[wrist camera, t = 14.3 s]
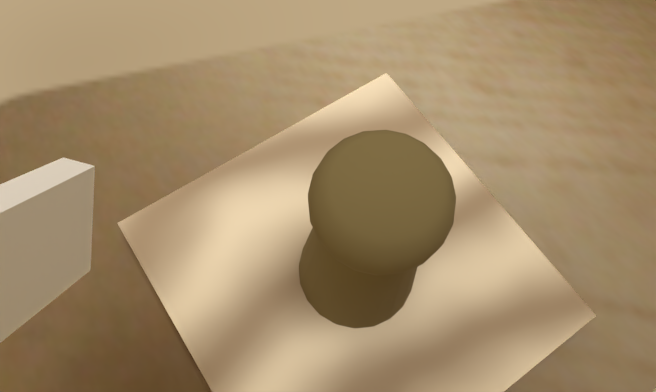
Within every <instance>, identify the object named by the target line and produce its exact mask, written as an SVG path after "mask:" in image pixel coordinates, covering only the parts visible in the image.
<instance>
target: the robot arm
mask: <svg viewBox="0 0 656 392" xmlns="http://www.w3.org/2000/svg"><path fill="white" fill-rule="evenodd" d="M94 176H95V166H92V165H89V164H85V163H82V162H78V161H74V160H71V159H67V158H61V159H59V160H56V161H54V162H52V163H49V164H47V165H45V166H42V167H40V168H38V169H35V170H33V171H31V172H28V173H26V174H24V175H21V176H19V177H17V178H14V179H12V180H10V181H7V182H5V183H3V184H0V343H1V342H2V341H3V340H4V339H6V338H7V337H8V336H9V335H11V334H12V333H13V332H14V331H16V330H17V329H18V328H19V327H20V326H22V325H23V324H24V323H25V322H27V321H28V320H29V319H30V318H32V317H33V316H34V315H35V314H37V313H38V312H39V311H40V310H42V309H43V308H44V307H45V306H47V305H48V304H49V303H50V302H52V301H53V300H54V299H55V298H57V297H58V296H59V295H60V294H62V293H63V292H64V291H65V290H66V289H68V288H69V287H70V286H71V285H73V284H74V283H75V282H76V281H78V280H79V279H80V278H81V277H83V276H84V275H85V274H86V273H88V272H89V271H90V270H91V247H92V223H93V200H94ZM653 392H656V387H655V389H654V390H653Z"/></svg>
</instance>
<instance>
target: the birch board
mask: <svg viewBox="0 0 656 392" xmlns="http://www.w3.org/2000/svg"><path fill="white" fill-rule="evenodd" d="M374 130H390V131H395V132H400V133H405V134H408V135H410V136H412V137H413V138H415V139H417V140H419V141H421V142H423V143H425V144H426V145H427V146H428V147H429V148H430V149H431V150H432V151H433V152H434V153H436V154H437V155H438V156H439V157H440V158H441V159H442V161H443V163H444V165H445V166H446V168H447V170H448V171H449V173H450V175H451V176H452V180H453V185H454V189H455V194H456V205H455V213H454V222H453V226H452V228H451V230H450V232H449V234H448V236H447V238H446V240H445V242H444V244H443V245H442V246H441V247H440V248H439V249H438V250H437V251H436V252H435V253H434V254H433V255H432V256H431V257H430V258H429V259H428V260H427V261H426V262H425V263H423V264H422V265H420V266H418V267H417V271H416V275H415V278H414V282H413V286H412V290H411V292H410V294H409V296H408V298H407V300H406V302H405V304H404V306H403V307H402V308H401V309H400V310H399V311H398V312H397V313H396V314H395V315H394V316H393V317H391V318H390V319H389V320H387V321H384V322H382V323H380V324H378V325H376V326H373V327H364V328H350V327H346V326H341V325H337V324H335V323H333V322H331V321H330V320H328V319H326V318H324V317H323V316H321V315H320V314H319V313H318V312H317V311H316V310H315V309H314V308H313V306H312V305H311V304H310V303H309V302H308V301H307V299H306V296H305V294H304V292H303V289H302V287H301V285H300V276H299V262H300V258H301V254H302V250H303V247H304V245H305V243H306V241H307V239H308V236H309V234H310V232H311V230H312V228H313V227H312V225H311V222H310V216H309V206H308V191H309V187H310V183H311V179H312V175H313V173H314V171H315V170H316V168H317V167H318V165H319V164H320V162H321V161H322V159H323V157H324V156H325V155H326V153H327V152H328V151H329V150H330V149H331V148H332V147H334V146H335V145H336V144H338V143H339V142H340V141H341V140H343V139H344V138H347V137H349V136H352V135H355V134H357V133H360V132H363V131H374ZM118 225H119V227H120V229H121V230H122V232H123V234H124V236H125V237H126V239H127V241H128V243H129V245H130V246H131V248H132V250H133V252H134V254H135V255H136V257H137V259H138V261H139V262H140V264H141V266H142V268H143V270H144V271H145V273H146V275H147V277H148V278H149V280H150V282H151V284H152V286H153V287H154V289H155V291H156V293H157V295H158V296H159V298H160V300H161V302H162V303H163V305H164V307H165V309H166V311H167V312H168V314H169V316H170V318H171V319H172V321H173V323H174V325H175V327H176V328H177V330H178V332H179V334H180V336H181V337H182V339H183V341H184V343H185V344H186V346H187V348H188V350H189V352H190V353H191V355H192V357H193V359H194V360H195V362H196V364H197V366H198V368H199V369H200V371H201V373H202V375H203V376H204V378H205V380H206V382H207V384H208V385H209V387H210V389H211V391H212V392H504V391H505V390H506V389H508V388H509V387H510V386H511V385H513V384H514V383H515V382H516V381H517V380H519V379H520V378H521V377H522V376H523V375H525V374H526V373H527V372H528V371H530V370H531V369H532V368H533V367H534V366H536V365H537V364H538V363H539V362H540V361H542V360H543V359H544V358H545V357H547V356H548V355H549V354H550V353H551V352H553V351H554V350H555V349H556V348H557V347H559V346H560V345H561V344H562V343H564V342H565V341H566V340H567V339H568V338H570V337H571V336H572V335H573V334H574V333H576V332H577V331H578V330H579V329H581V328H582V327H583V326H584V325H585V324H587V323H588V322H589V321H590V320H592V319H593V318H594V317H595V316H596V314H595V313H594V312H593V311H592V310H591V309H590V307H589V306H588V305H587V304H586V303H585V302H584V301H583V299H582V298H581V297H580V296H579V295H578V294H577V292H576V291H575V290H574V289H573V288H572V287H571V285H570V284H569V283H568V282H567V281H566V280H565V279H564V277H563V276H562V275H561V274H560V273H559V272H558V270H557V269H556V268H555V267H554V266H553V265H552V264H551V262H550V261H549V260H548V259H547V258H546V257H545V255H544V254H543V253H542V252H541V251H540V250H539V249H538V247H537V246H536V245H535V244H534V243H533V242H532V240H531V239H530V238H529V237H528V236H527V235H526V233H525V232H524V231H523V230H522V229H521V228H520V227H519V225H518V224H517V223H516V222H515V221H514V220H513V218H512V217H511V216H510V215H509V214H508V213H507V212H506V210H505V209H504V208H503V207H502V206H501V205H500V203H499V202H498V201H497V200H496V199H495V198H494V196H493V195H492V194H491V193H490V192H489V191H488V190H487V188H486V187H485V186H484V185H483V184H482V183H481V181H480V180H479V179H478V178H477V177H476V176H475V175H474V173H473V172H472V171H471V170H470V169H469V168H468V166H467V165H466V164H465V163H464V162H463V161H462V160H461V158H460V157H459V156H458V155H457V154H456V153H455V151H454V150H453V149H452V148H451V147H450V146H449V144H448V143H447V142H446V141H445V140H444V139H443V138H442V136H441V135H440V134H439V133H438V132H437V131H436V129H435V128H434V127H433V126H432V125H431V124H430V123H429V121H428V120H427V119H426V118H425V117H424V116H423V114H422V113H421V112H420V111H419V110H418V109H417V107H416V106H415V105H414V104H413V103H412V102H411V101H410V99H409V98H408V97H407V96H406V95H405V94H404V92H403V91H402V90H401V89H400V88H399V87H398V86H397V84H396V83H395V82H394V81H393V80H392V79H391V77H390V76H389V75H388V74H387V73H385V74H384V75H382V76H380V77H378V78H376V79H375V80H373V81H371V82H369V83H367V84H366V85H364V86H362V87H360V88H358V89H357V90H355V91H353V92H351V93H350V94H348V95H346V96H344V97H342V98H341V99H339V100H337V101H335V102H333V103H332V104H330V105H328V106H326V107H324V108H323V109H321V110H319V111H317V112H316V113H314V114H312V115H310V116H308V117H307V118H305V119H303V120H301V121H299V122H298V123H296V124H294V125H292V126H290V127H289V128H287V129H285V130H283V131H282V132H280V133H278V134H276V135H274V136H273V137H271V138H269V139H267V140H265V141H264V142H262V143H260V144H258V145H256V146H255V147H253V148H251V149H249V150H248V151H246V152H244V153H242V154H240V155H239V156H237V157H235V158H233V159H231V160H230V161H228V162H226V163H224V164H222V165H221V166H219V167H217V168H215V169H214V170H212V171H210V172H208V173H206V174H205V175H203V176H201V177H199V178H197V179H196V180H194V181H192V182H190V183H188V184H187V185H185V186H183V187H181V188H180V189H178V190H176V191H174V192H172V193H171V194H169V195H167V196H165V197H163V198H162V199H160V200H158V201H156V202H154V203H153V204H151V205H149V206H147V207H146V208H144V209H142V210H140V211H138V212H137V213H135V214H133V215H131V216H129V217H128V218H126V219H124V220H122V221H120V222H119V223H118Z"/></svg>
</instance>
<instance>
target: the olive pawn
mask: <svg viewBox="0 0 656 392" xmlns="http://www.w3.org/2000/svg"><path fill="white" fill-rule="evenodd" d="M455 205H456V194H455V189H454V185H453V180H452V176H451V175H450V173H449V171H448V170H447V168H446V166H445V165H444V163H443V161H442V159H441V158H440V157H439V156H438V155H437V154H436V153H434V152H433V151H432V150H431V149H430V148H429V147H428V146H427V145H426V144H425V143H423V142H421V141H419V140H417V139H415V138H413V137H412V136H410V135H408V134H405V133H400V132H395V131H390V130H374V131H363V132H360V133H357V134H355V135H352V136H349V137H347V138H344V139H343V140H341V141H340V142H339V143H338V144H336V145H335V146H334V147H332V148H331V149H330V150H329V151H328V152H327V153H326V155H325V156H324V157H323V159H322V161H321V162H320V164H319V165H318V167H317V168H316V170H315V171H314V173H313V175H312V179H311V183H310V187H309V191H308V206H309V216H310V222H311V225H312V227H313V228H312V230H311V232H310V234H309V236H308V239H307V241H306V243H305V245H304V247H303V250H302V254H301V258H300V262H299V276H300V285H301V287H302V289H303V292H304V294H305V296H306V299H307V301H308V302H309V303H310V304H311V305H312V306H313V308H314V309H315V310H316V311H317V312H318V313H319V314H320V315H321V316H323V317H324V318H326V319H328V320H330V321H331V322H333V323H335V324H337V325H341V326H346V327H350V328H364V327H373V326H376V325H378V324H380V323H382V322H384V321H387V320H389V319H390V318H391V317H393V316H394V315H395V314H396V313H397V312H398V311H399V310H400V309H401V308H402V307H403V306H404V304H405V302H406V300H407V298H408V296H409V294H410V292H411V290H412V286H413V282H414V278H415V275H416V271H417V267H418V266H420V265H422V264H423V263H425V262H426V261H427V260H428V259H429V258H430V257H431V256H432V255H433V254H434V253H435V252H436V251H437V250H438V249H439V248H440V247H441V246H442V245H443V244H444V242H445V240H446V238H447V236H448V234H449V232H450V230H451V228H452V226H453V222H454V213H455Z"/></svg>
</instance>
